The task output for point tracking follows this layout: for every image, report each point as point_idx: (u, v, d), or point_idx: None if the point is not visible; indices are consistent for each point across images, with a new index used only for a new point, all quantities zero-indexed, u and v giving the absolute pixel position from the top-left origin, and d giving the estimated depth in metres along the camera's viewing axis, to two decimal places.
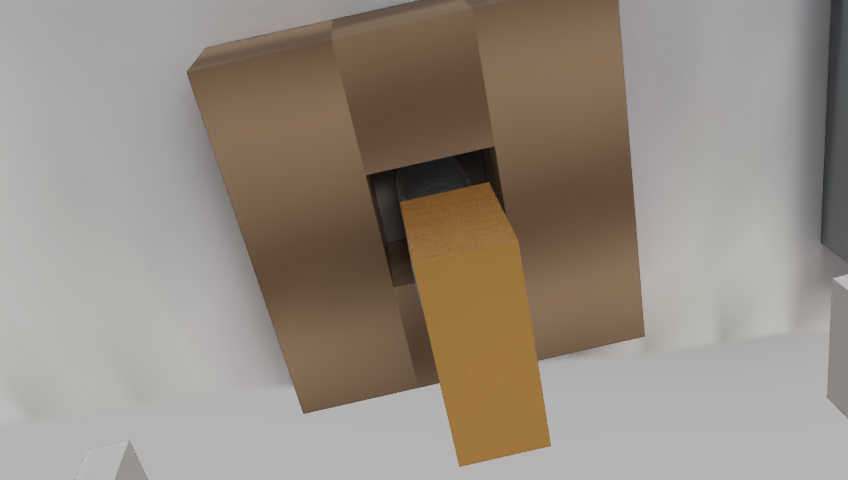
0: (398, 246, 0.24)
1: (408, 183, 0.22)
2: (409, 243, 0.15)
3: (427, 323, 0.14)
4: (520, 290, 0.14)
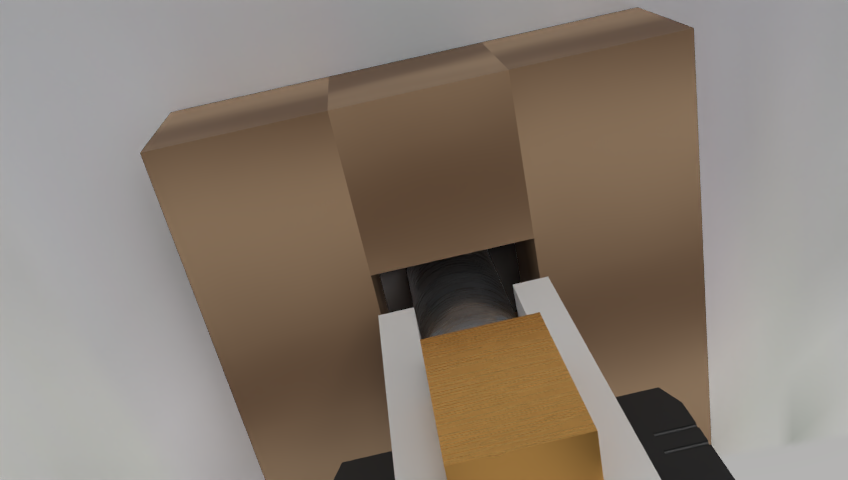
0: None
1: (424, 279, 0.18)
2: (437, 421, 0.10)
3: None
4: None
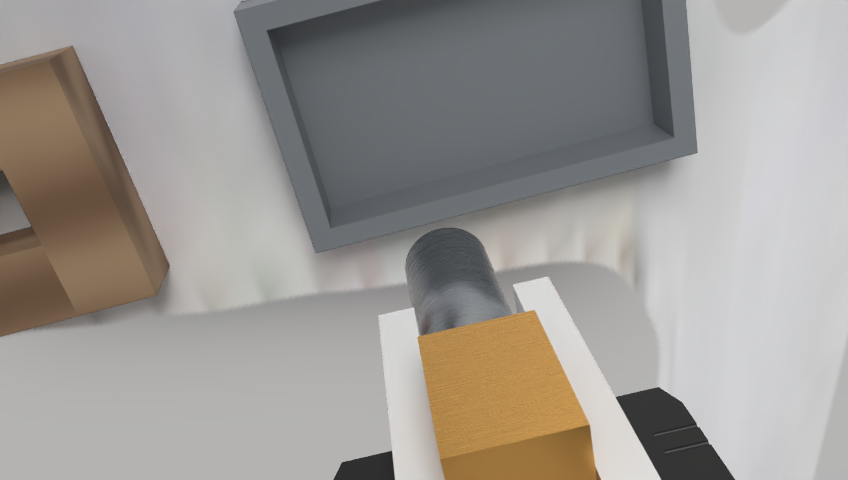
0: None
1: (421, 278, 0.18)
2: (433, 415, 0.11)
3: None
4: None
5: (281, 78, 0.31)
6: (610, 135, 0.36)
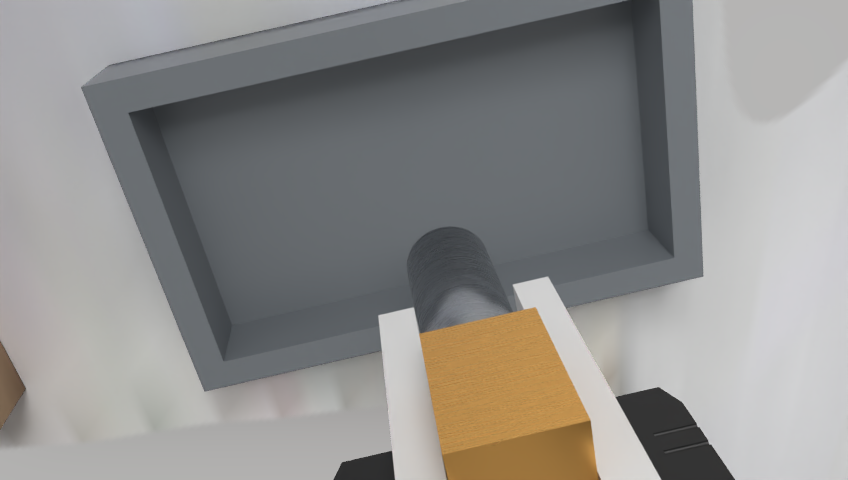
0: None
1: (423, 276, 0.18)
2: (435, 411, 0.11)
3: None
4: None
5: (151, 174, 0.23)
6: (592, 244, 0.28)
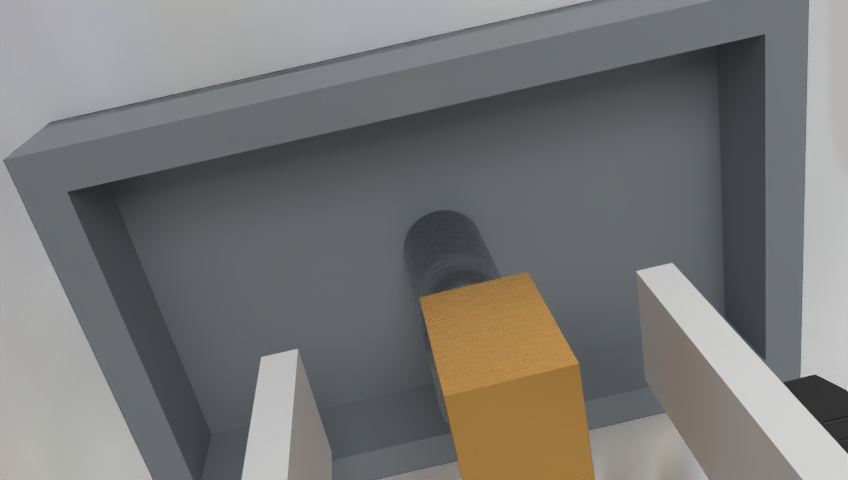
0: None
1: (420, 255, 0.19)
2: (436, 361, 0.12)
3: (461, 465, 0.11)
4: (579, 422, 0.11)
5: (100, 268, 0.18)
6: None
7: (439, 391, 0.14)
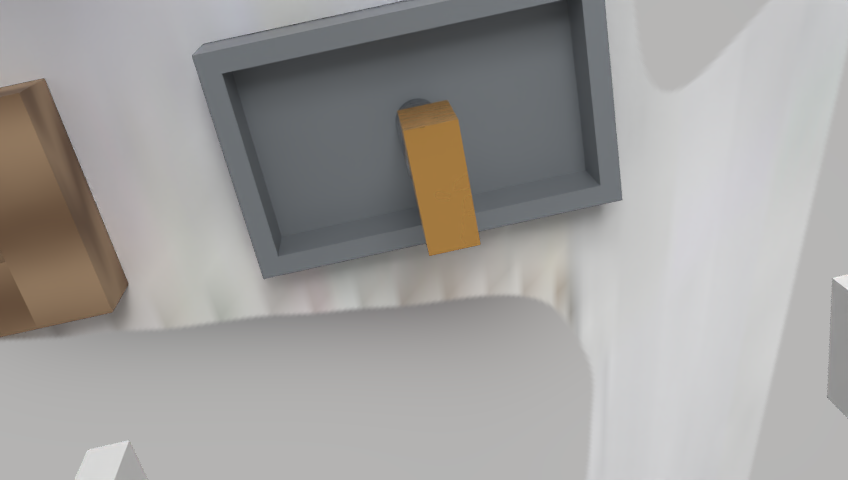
0: None
1: None
2: (401, 124, 0.27)
3: (411, 165, 0.27)
4: (460, 147, 0.27)
5: (234, 117, 0.33)
6: (545, 179, 0.39)
7: (407, 161, 0.30)
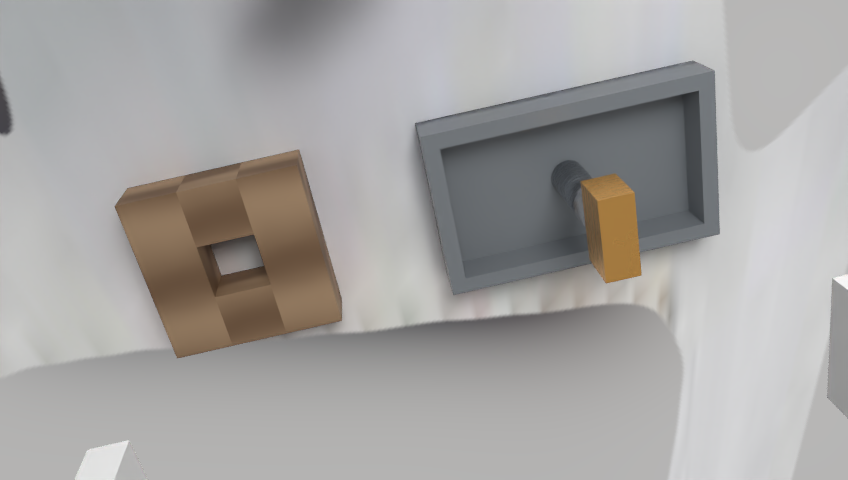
0: (225, 277, 0.50)
1: (563, 176, 0.47)
2: (592, 194, 0.40)
3: (600, 223, 0.40)
4: (634, 211, 0.40)
5: (445, 179, 0.46)
6: (658, 217, 0.51)
7: (583, 215, 0.43)
